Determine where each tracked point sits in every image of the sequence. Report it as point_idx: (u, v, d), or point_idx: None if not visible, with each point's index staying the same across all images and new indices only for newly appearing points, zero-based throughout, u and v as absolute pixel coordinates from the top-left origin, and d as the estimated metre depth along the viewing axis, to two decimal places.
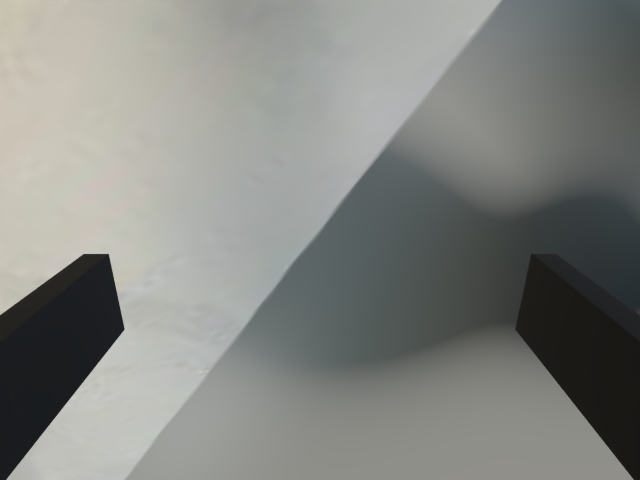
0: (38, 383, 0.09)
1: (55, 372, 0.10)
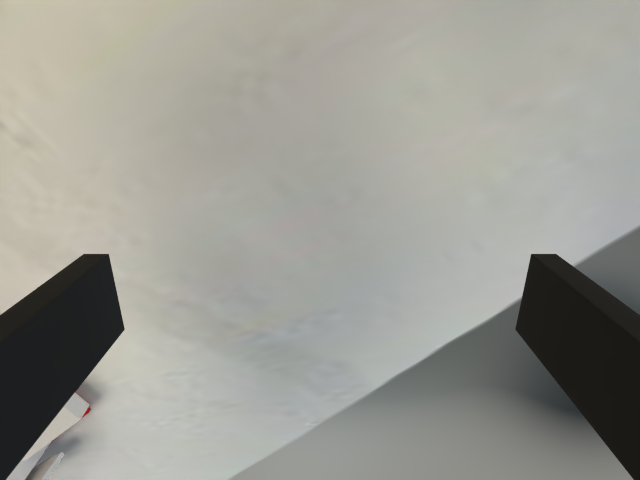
0: (38, 383, 0.09)
1: (55, 372, 0.10)
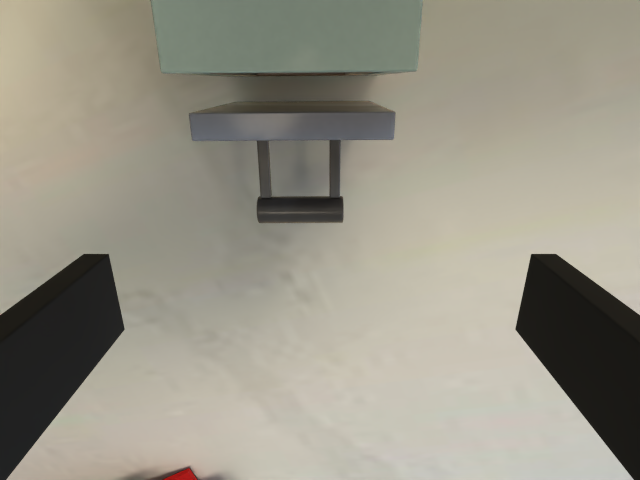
0: (38, 383, 0.09)
1: (55, 372, 0.10)
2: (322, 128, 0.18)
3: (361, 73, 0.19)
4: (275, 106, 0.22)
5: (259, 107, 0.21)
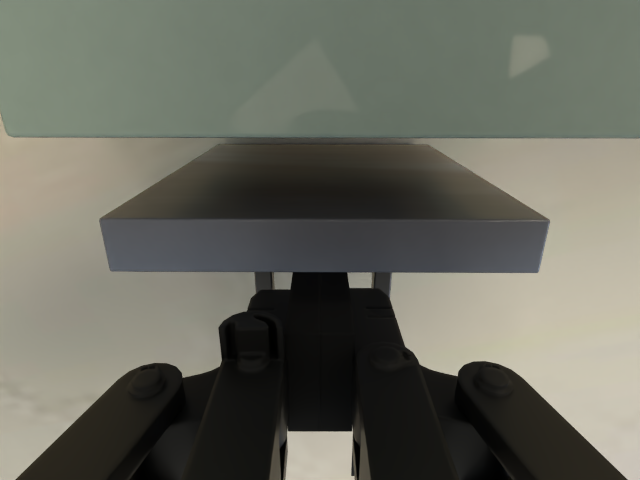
0: None
1: None
2: (389, 251, 0.08)
3: None
4: (284, 171, 0.12)
5: (255, 177, 0.11)
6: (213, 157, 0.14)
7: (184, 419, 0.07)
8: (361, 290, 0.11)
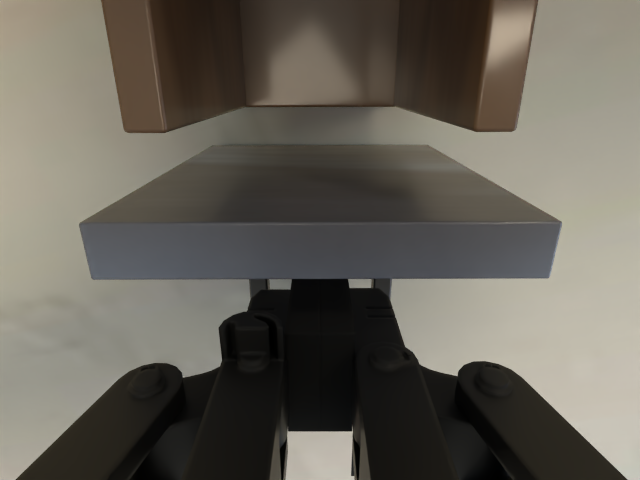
0: None
1: None
2: (390, 256, 0.08)
3: None
4: (279, 172, 0.12)
5: (248, 178, 0.11)
6: (205, 158, 0.14)
7: (184, 419, 0.07)
8: (361, 290, 0.11)
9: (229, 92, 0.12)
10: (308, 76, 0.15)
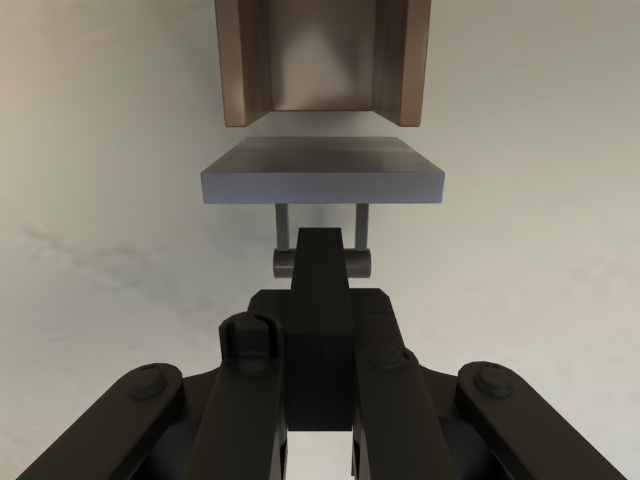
0: None
1: None
2: (358, 190, 0.15)
3: None
4: (296, 152, 0.19)
5: (279, 155, 0.18)
6: (247, 145, 0.21)
7: (184, 419, 0.07)
8: (361, 290, 0.11)
9: (265, 102, 0.20)
10: (314, 90, 0.22)
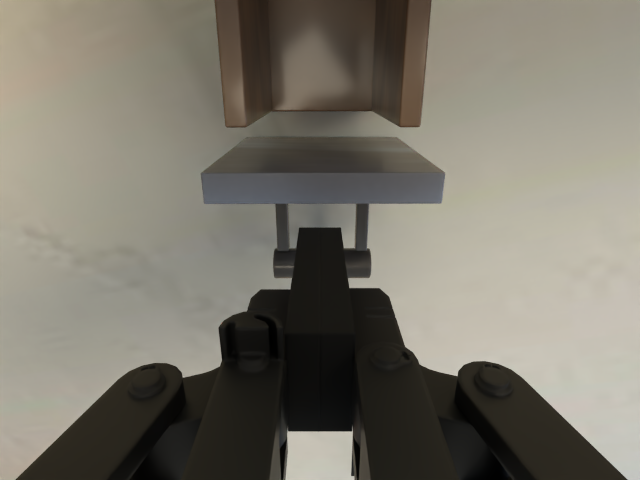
0: None
1: None
2: (358, 191, 0.15)
3: None
4: (297, 152, 0.19)
5: (279, 155, 0.18)
6: (247, 145, 0.21)
7: (184, 419, 0.07)
8: (361, 290, 0.11)
9: (265, 102, 0.20)
10: (314, 90, 0.22)
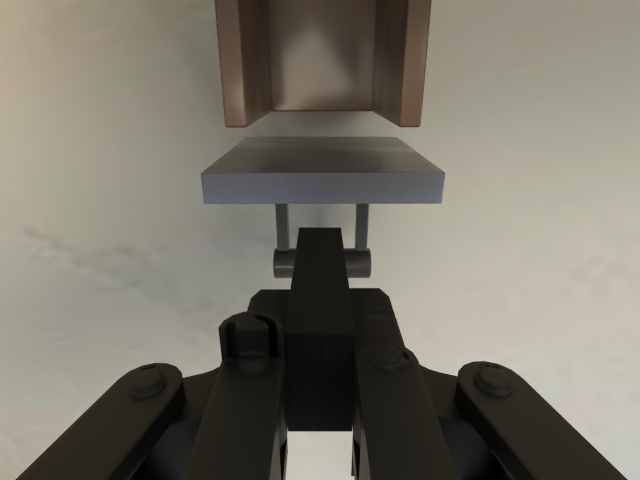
0: None
1: None
2: (358, 191, 0.15)
3: None
4: (297, 152, 0.19)
5: (279, 155, 0.18)
6: (247, 145, 0.21)
7: (184, 419, 0.07)
8: (361, 290, 0.11)
9: (265, 102, 0.20)
10: (314, 90, 0.22)
